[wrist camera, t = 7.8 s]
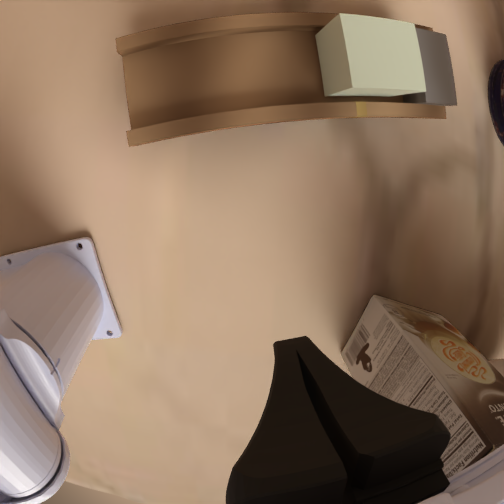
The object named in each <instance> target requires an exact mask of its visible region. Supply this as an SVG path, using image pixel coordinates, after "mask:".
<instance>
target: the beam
mask: <svg viewBox="0 0 504 504" xmlns="http://www.w3.org/2000/svg"><path fill="white" fill-rule="evenodd" d="M337 15H338V14H333V13H307V12H283V13H258V14H244V15H233V16H224V17H216V18H208V19H201V20H195V21H189V22H183V23H178V24H173V25H168V26H163V27H159V28H154V29H150V30H146V31H142V32H138V33H134V34H130V35H127V36H123V37H120V38H116V47H117V52H118V53H119V54H120V55H122V58H123V68H124V78H125V87H126V95H127V103H128V110H129V117H130V124H131V130H130V131H126V132H127V139H128V145H129V147H130V146H138V145H142V144H147V143H151V142H156V141H161V140H166V139H171V138H176V137H181V136H186V135H192V134H197V133H203V132H209V131H215V130H222V129H229V128H236V127H243V126H251V125H260V124H269V123H278V122H289V121H301V120H315V119H333V118H364V117H399V118H434V119H446V111H445V106H453V105H457V99H456V91H455V83H454V76H453V70H452V64H451V58H450V53H449V48H448V43H447V38H446V35H445V34H442V33H437V32H433V30H432V28H430V27H425V26H421V25H416V24H414V25H415V29H416V34H417V38H418V43H419V48H420V54H421V59H422V65H423V71H424V78H425V85H426V92H419V93H411V94H404V95H397V96H391V97H382V96H327V97H325V95H324V87H323V80H322V74H321V67H320V61H319V55H318V49H317V43H316V37H315V35H316V34H317V33H318V32H319V31H320V30H322V29H323V28H324V27H325V26H326V25H327V24H328V23H329V22H330V21H331V20H332V19H333V18H335V17H336V16H337Z"/></svg>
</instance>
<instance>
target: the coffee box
mask: <svg viewBox="0 0 504 504" xmlns="http://www.w3.org/2000/svg"><path fill="white" fill-rule="evenodd" d="M341 355H342V357H343V359H344V361H345V363H346V365H347V367H348V369H349V371H350V373H351V375H352V377H353V379H355V380H356V381H358V382H359V383H361V384H362V385H364V386H366V387H367V388H369V389H370V390H372V391H374V392H376V393H378V394H380V395H382V396H384V397H386V398H388V399H391V400H393V401H395V402H397V403H400V404H403V405H406V406H408V407H411V408H414V409H418V410H422V411H426V412H430V413H434V414H436V415H437V416H438V417H439V418H440V420H441V421H442V422H443V423H444V425H445V426H446V427H447V429H448V430H449V432H450V434H451V438H450V441H449V444H448V446H447V447H446V449H445V451H444V453H443V454H442V456H441V460H442V462H443V463H444V467H443V468H442V470H443V472H444V473H445V475H446V477H447V478H449V477H451V476H453V475H455V474H457V473H458V472H460V471H462V470H464V469H465V468H467V467H469V466H471V465H472V464H474V463H476V462H477V461H479V460H481V459H482V458H484V457H485V456H487V455H488V454H490V453H491V452H493V451H495V450H496V449H497V448H499V447H500V446H502V445H503V444H504V377H503V376H502V375H501V373H500V372H499V371H498V370H497V369H496V368H495V367H494V366H493V365H492V364H491V363H490V362H489V361H488V360H487V359H486V358H485V357H484V356H483V355H482V354H481V353H480V352H479V351H478V350H477V349H476V348H475V347H474V346H473V345H472V344H471V343H470V342H469V341H468V340H467V339H466V338H465V337H464V336H463V335H462V334H461V333H460V332H459V331H458V330H457V329H456V328H455V327H454V326H453V325H452V324H451V323H450V322H448V321H447V320H446V319H445V318H444V317H443V316H442V315H439V314H436V313H433V312H430V311H426V310H423V309H420V308H416V307H413V306H410V305H407V304H403V303H400V302H397V301H394V300H391V299H387V298H384V297H381V296H378V295H373V296H372V297H371V299H370V301H369V303H368V305H367V307H366V309H365V311H364V313H363V314H362V316H361V318H360V320H359V322H358V324H357V326H356V327H355V329H354V331H353V333H352V335H351V337H350V338H349V340H348V342H347V344H346V345H345V347H344V349H343V351H342V352H341Z"/></svg>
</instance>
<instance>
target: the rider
mask: <svg viewBox="0 0 504 504" xmlns="http://www.w3.org/2000/svg"><path fill="white" fill-rule="evenodd" d="M315 37H316V43H317V49H318V55H319V61H320V67H321V74H322V80H323V87H324V95H325V97H327V96H382V97H391V96H397V95H404V94H411V93H419V92H426V85H425V78H424V71H423V65H422V59H421V54H420V48H419V43H418V38H417V34H416V29H415V25H414V23H410V22H405V21H399V20H393V19H387V18H380V17H373V16H365V15H355V14H344V13H339V14H338V15H337V16H336V17H335V18H333V19H332V20H331V21H330V22H329V23H328V24H327V25H326V26H325V27H324V28H323V29H322V30H320V31H319V32H318V33H317V34H316V35H315Z"/></svg>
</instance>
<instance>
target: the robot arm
mask: <svg viewBox="0 0 504 504" xmlns="http://www.w3.org/2000/svg"><path fill="white" fill-rule="evenodd" d="M78 243H80V244H82V248H80V247H79V246H78ZM9 259H10V260H11V262H10V260H9ZM108 330H110V331H112V333H110V332H108ZM121 335H122V328H121V325H120V323H119V320H118V317H117V315H116V312H115V309H114V306H113V304H112V301H111V298H110V295H109V292H108V289H107V286H106V283H105V280H104V277H103V274H102V271H101V267H100V264H99V261H98V257H97V254H96V251H95V247H94V244H93V241H92V239H91V238H89V237H82V238H77V239H73V240H68V241H64V242H59V243H55V244H50V245H46V246H41V247H37V248H33V249H28V250H24V251H20V252H16V253H12V254H8V255H4V256H1V257H0V504H40V503H42V502H43V501H45V500H47V499H48V498H50V497H51V496H52V495H54V494H55V492H56V491H57V490H58V489H59V488H60V487H61V485H62V484H63V482H64V480H65V478H66V476H67V473H68V470H69V465H70V452H69V447H68V445H67V442H66V440H65V438H64V437H63V435H62V434H61V433H60V431H59V428H60V426H61V423H62V421H63V418H64V416H65V415H64V414H63V412H62V410H61V401H62V399H63V397H64V395H65V393H66V391H67V388H68V386H69V384H70V382H71V380H72V378H73V376H74V374H75V371H76V369H77V367H78V365H79V363H80V361H81V359H82V357H83V355H84V353H85V351H86V349H87V347H88V345H89V343H90V342H91V340H96V339H108V338H118V337H120V336H121ZM273 347H274V355H275V364H274V372H273V379H272V384H271V388H270V392H269V396H268V400H267V403H266V406H265V409H264V412H263V414H262V417H261V419H260V422H259V424H258V426H257V428H256V430H255V432H254V434H253V436H252V438H251V440H250V442H249V444H248V445H247V447H246V449H245V450H244V452H243V454H242V455H241V456H240V458H239V459H238V461H237V462H236V464H235V465H234V467H233V468H232V472H231V475H230V478H229V482H228V486H227V491H226V504H504V444H503V445H502V446H500V447H499V448H497V449H496V450H495V451H493V452H491V453H490V454H488V455H487V456H485V457H484V458H482V459H481V460H479V461H477V462H476V463H474V464H472V465H471V466H469V467H467V468H465V469H464V470H462V471H460V472H458V473H457V474H455V475H453V476H451V477H449V478H447V477H446V475H445V473H444V472H443V470H442V468H443V467H444V463H443V462H442V460H441V456H442V454H443V453H444V451H445V449H446V447H447V446H448V444H449V441H450V438H451V434H450V432H449V430H448V429H447V427H446V426H445V425H444V423H443V422H442V421H441V420H440V418H439V417H438V416H437V415H436V414H434V413H430V412H426V411H422V410H418V409H414V408H411V407H408V406H406V405H403V404H400V403H397V402H395V401H393V400H391V399H388V398H386V397H384V396H382V395H380V394H378V393H376V392H374V391H372V390H370V389H369V388H367V387H366V386H364V385H362V384H361V383H359V382H358V381H356V380H355V379H353V378H352V377H351V376H349V375H348V374H347V373H345V372H344V371H343V370H342V369H340V368H339V367H338V366H337V365H336V364H334V363H333V362H332V361H331V360H330V359H329V358H328V357H327V356H326V355H325V354H324V353H322V352H321V351H320V350H319V349H318V347H317V346H316V345H315V344H314V343H313V342H312V341H311V340H310V339H309V338H308V337H307V336H303V337H298V338H293V339H287V340H282V341H276V342H275V343H274V344H273Z"/></svg>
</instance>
